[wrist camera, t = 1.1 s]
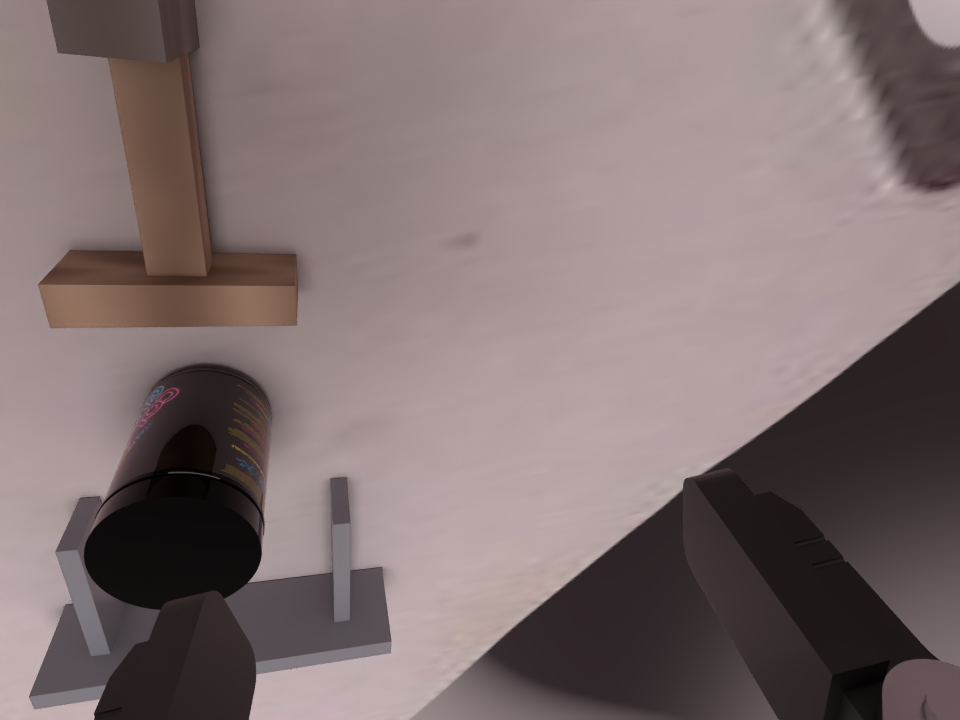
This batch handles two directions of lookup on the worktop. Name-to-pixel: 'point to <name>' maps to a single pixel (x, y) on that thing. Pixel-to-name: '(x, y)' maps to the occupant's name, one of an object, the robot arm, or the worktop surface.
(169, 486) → the supplement container
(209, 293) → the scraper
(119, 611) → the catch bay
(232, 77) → the worktop surface
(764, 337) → the worktop surface
